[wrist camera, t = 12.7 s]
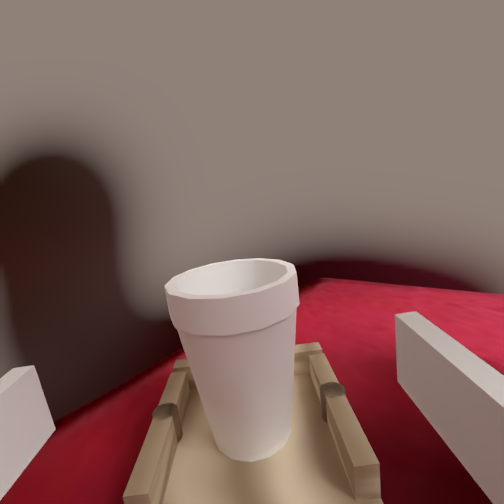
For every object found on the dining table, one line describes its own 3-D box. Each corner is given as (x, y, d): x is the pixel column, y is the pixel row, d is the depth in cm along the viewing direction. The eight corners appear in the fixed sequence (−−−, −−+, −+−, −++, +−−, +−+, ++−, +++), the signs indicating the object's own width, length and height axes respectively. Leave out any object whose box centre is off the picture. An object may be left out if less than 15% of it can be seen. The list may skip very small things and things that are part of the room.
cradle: (323, 375, 32) (320, 341, 31) (391, 531, 18) (389, 474, 17) (179, 394, 32) (173, 360, 31) (127, 565, 17) (112, 511, 17)
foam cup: (207, 392, 29) (185, 265, 27) (301, 385, 29) (289, 253, 26) (181, 487, 20) (143, 306, 17) (320, 478, 20) (303, 290, 17)
